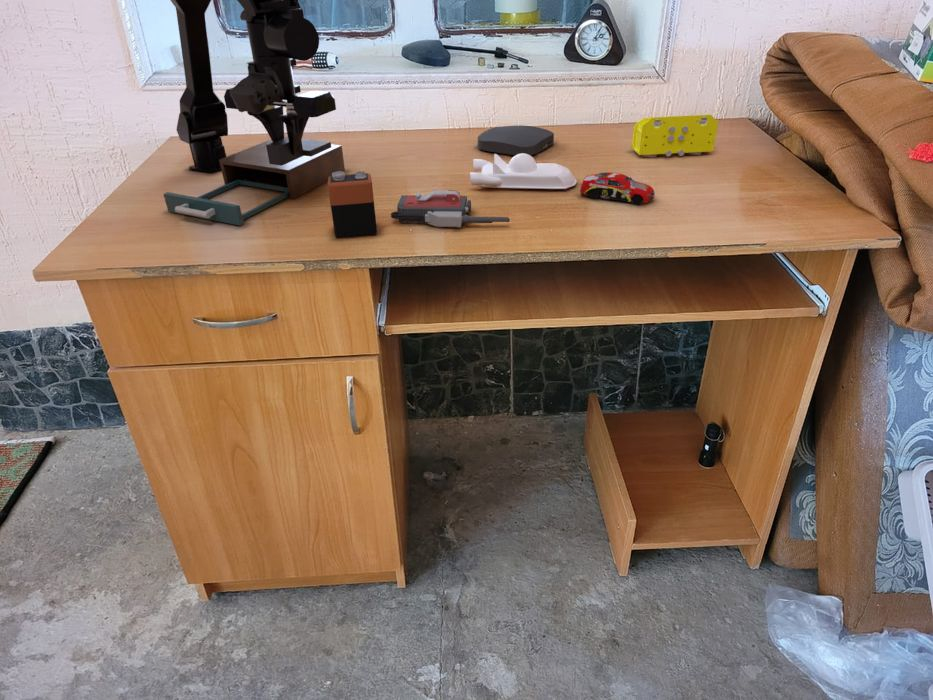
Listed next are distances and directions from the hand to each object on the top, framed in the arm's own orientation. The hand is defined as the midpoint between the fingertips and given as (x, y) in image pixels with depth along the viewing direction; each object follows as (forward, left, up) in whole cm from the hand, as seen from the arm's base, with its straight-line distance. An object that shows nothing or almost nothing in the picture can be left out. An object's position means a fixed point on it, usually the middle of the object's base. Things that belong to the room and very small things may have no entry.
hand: (288, 153), depth 110 cm
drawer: (-12, -3, -10) cm, 16 cm away
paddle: (0, +2, -1) cm, 3 cm away
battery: (+16, -5, -10) cm, 19 cm away
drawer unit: (-12, +12, -10) cm, 20 cm away
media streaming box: (+22, +50, -10) cm, 56 cm away
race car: (+51, +27, -10) cm, 58 cm away
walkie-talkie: (+28, +6, -10) cm, 30 cm away
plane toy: (+33, +27, -10) cm, 44 cm away
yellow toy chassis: (+55, +57, -10) cm, 80 cm away
